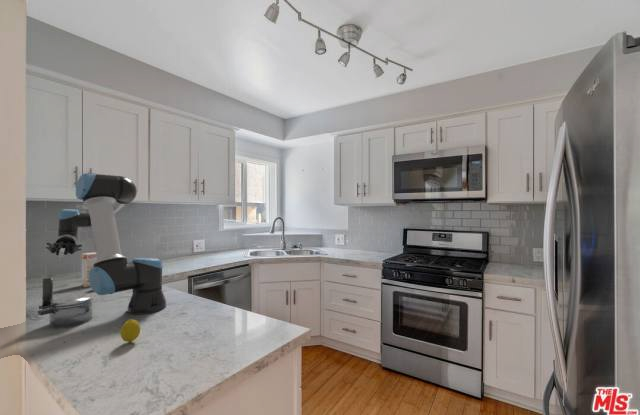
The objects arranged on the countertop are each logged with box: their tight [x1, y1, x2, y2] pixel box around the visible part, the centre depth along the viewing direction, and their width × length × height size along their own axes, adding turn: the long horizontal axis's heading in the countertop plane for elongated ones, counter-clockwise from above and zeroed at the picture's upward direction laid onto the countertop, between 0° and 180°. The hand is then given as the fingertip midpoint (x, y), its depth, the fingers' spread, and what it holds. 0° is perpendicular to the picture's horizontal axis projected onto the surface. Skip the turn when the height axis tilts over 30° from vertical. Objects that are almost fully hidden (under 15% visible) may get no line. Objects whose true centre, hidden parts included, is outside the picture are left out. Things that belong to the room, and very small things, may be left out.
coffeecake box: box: [81, 251, 97, 288], centre depth 176 cm, size 15×7×20 cm, turn 144°
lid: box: [38, 276, 94, 310], centre depth 114 cm, size 17×13×11 cm
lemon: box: [120, 318, 141, 344], centre depth 97 cm, size 6×6×8 cm
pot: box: [37, 298, 94, 329], centre depth 114 cm, size 16×14×8 cm
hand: (61, 254), depth 122 cm, fingers closed
